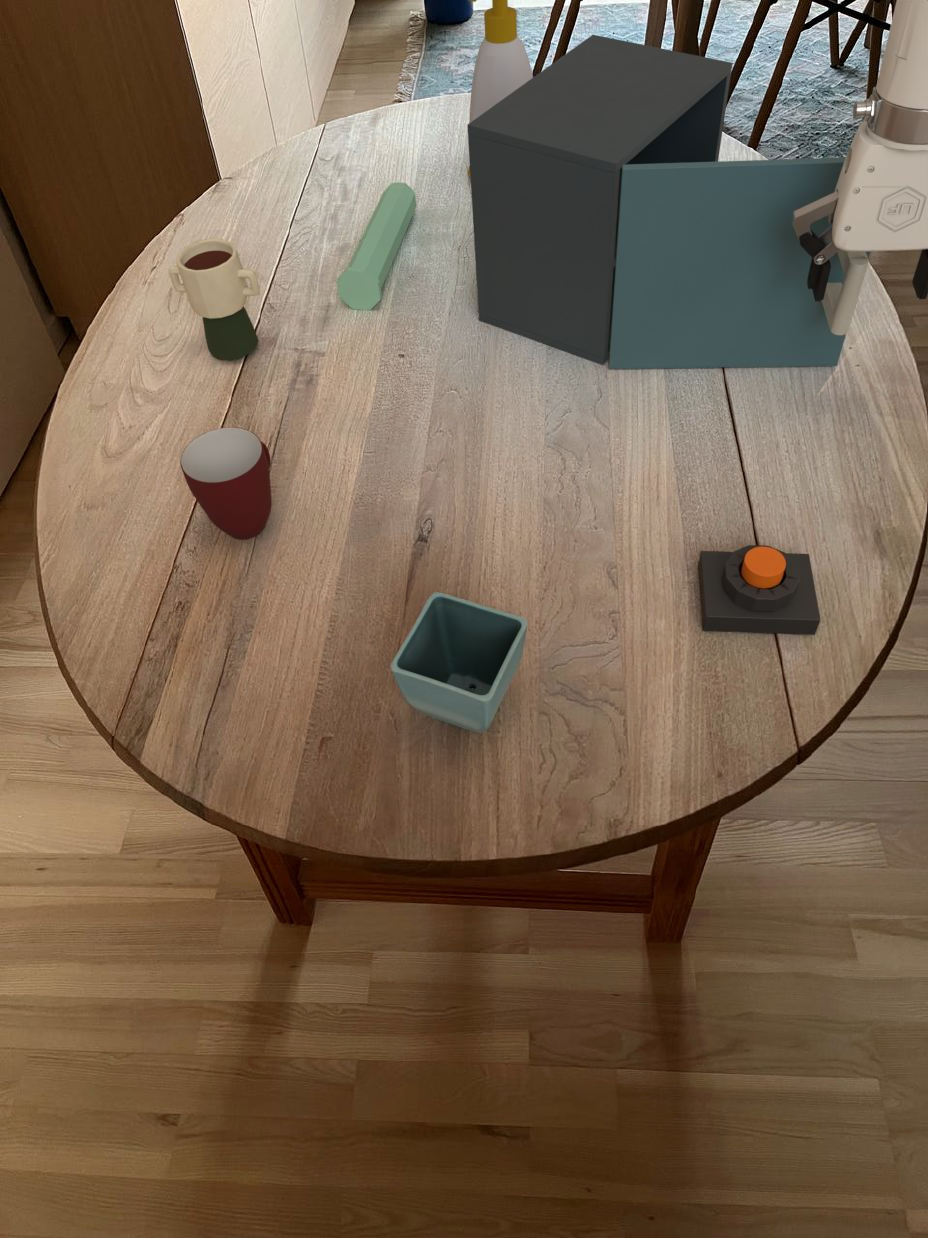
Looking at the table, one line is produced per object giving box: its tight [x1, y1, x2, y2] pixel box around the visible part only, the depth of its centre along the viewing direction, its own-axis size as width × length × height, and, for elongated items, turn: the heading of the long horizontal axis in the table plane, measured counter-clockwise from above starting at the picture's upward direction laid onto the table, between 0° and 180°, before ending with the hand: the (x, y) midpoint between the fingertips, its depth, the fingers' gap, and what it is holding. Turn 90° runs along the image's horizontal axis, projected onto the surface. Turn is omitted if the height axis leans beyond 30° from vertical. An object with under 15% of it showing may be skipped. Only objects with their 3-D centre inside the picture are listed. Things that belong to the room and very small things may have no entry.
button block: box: [697, 544, 821, 636], centre depth 87 cm, size 10×8×4 cm
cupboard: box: [466, 34, 733, 366], centre depth 112 cm, size 18×26×24 cm
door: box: [608, 156, 872, 370], centre depth 99 cm, size 8×26×24 cm, turn 86°
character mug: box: [168, 237, 261, 362], centre depth 113 cm, size 11×7×13 cm, turn 79°
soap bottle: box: [467, 0, 534, 180], centre depth 131 cm, size 11×12×26 cm
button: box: [741, 547, 786, 589], centre depth 85 cm, size 4×4×2 cm
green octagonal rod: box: [335, 182, 417, 311], centre depth 127 cm, size 6×6×25 cm
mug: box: [179, 426, 273, 541], centre depth 96 cm, size 11×8×10 cm
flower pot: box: [389, 591, 529, 734], centre depth 80 cm, size 9×9×9 cm
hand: (867, 292), depth 93 cm, fingers open, 9 cm apart
